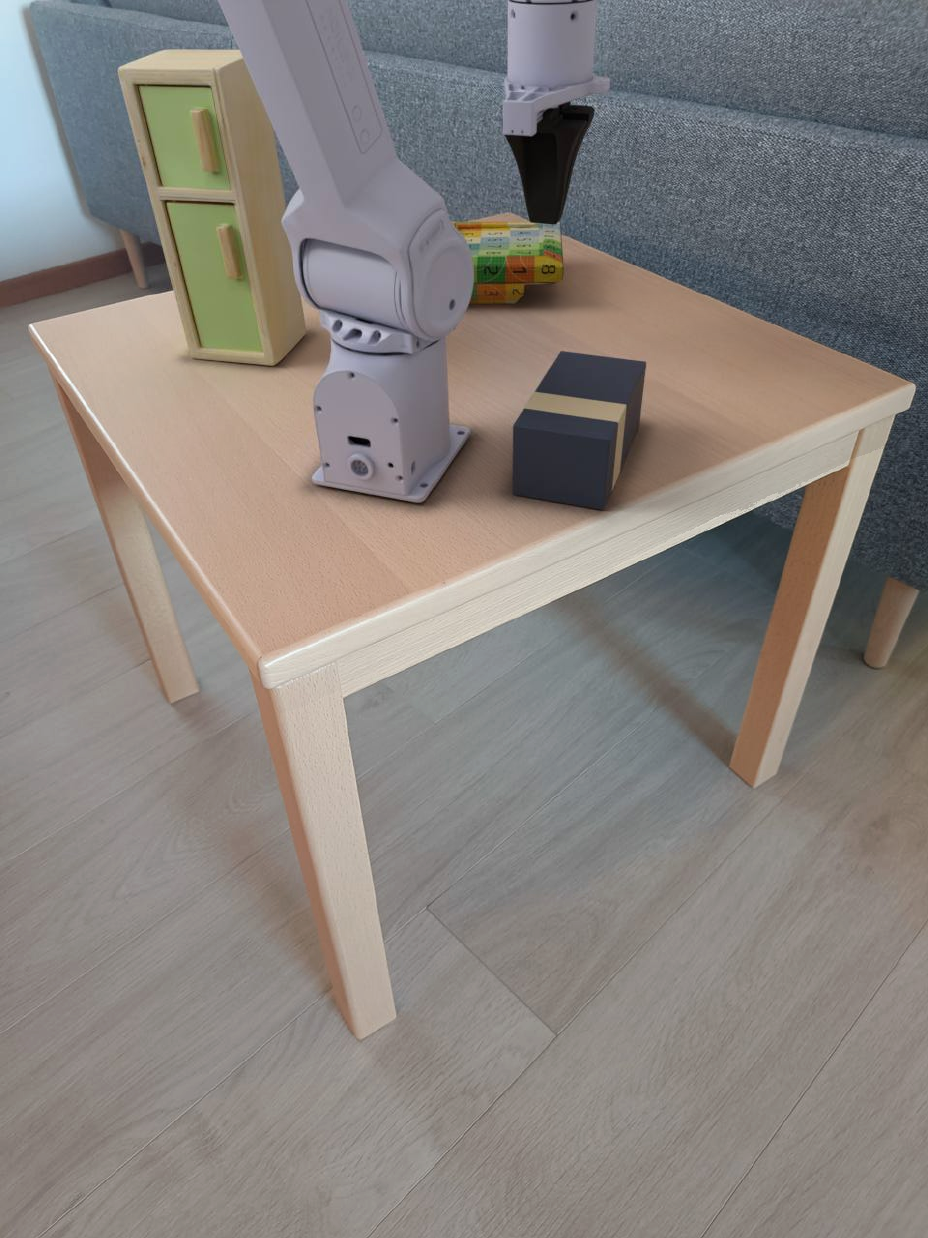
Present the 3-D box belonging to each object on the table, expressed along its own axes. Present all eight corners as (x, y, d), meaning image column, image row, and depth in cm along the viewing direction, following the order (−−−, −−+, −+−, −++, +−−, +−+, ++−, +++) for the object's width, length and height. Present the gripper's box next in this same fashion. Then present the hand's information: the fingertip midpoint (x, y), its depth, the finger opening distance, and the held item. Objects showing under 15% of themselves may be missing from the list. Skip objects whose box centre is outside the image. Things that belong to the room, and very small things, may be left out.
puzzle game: (353, 214, 86) (561, 212, 85) (358, 263, 89) (558, 262, 88) (333, 256, 78) (564, 255, 76) (339, 309, 81) (561, 309, 79)
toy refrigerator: (182, 362, 73) (108, 66, 59) (224, 326, 79) (165, 47, 65) (271, 372, 72) (216, 69, 58) (307, 334, 77) (265, 49, 63)
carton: (639, 427, 63) (603, 511, 56) (557, 415, 65) (511, 495, 57) (647, 360, 60) (610, 439, 52) (560, 349, 62) (512, 424, 54)
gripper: (586, 16, 51) (573, 259, 60) (637, -16, 61) (619, 195, 70) (469, 14, 53) (473, 249, 62) (538, -17, 63) (533, 189, 72)
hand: (545, 220), depth 66 cm, fingers closed
